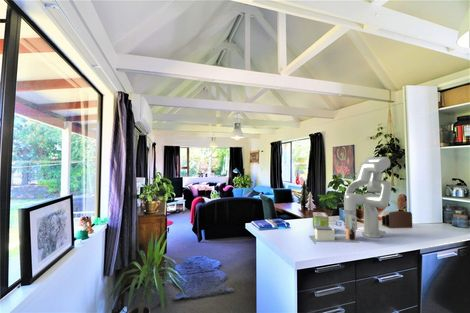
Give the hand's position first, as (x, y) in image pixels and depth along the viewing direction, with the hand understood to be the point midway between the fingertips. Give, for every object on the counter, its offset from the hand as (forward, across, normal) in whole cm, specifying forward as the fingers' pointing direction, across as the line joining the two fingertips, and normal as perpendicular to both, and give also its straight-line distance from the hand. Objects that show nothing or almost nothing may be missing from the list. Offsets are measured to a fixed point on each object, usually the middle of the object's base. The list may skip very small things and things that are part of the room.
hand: (350, 238), depth 161 cm
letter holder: (+2, +39, -56) cm, 69 cm away
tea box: (+2, +19, +15) cm, 24 cm away
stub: (+1, 0, 0) cm, 1 cm away
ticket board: (+2, 0, +12) cm, 12 cm away
